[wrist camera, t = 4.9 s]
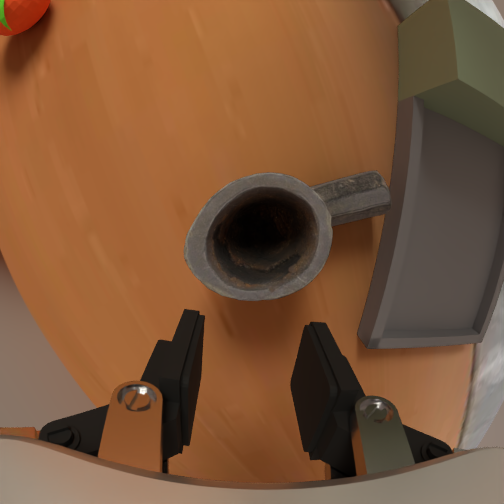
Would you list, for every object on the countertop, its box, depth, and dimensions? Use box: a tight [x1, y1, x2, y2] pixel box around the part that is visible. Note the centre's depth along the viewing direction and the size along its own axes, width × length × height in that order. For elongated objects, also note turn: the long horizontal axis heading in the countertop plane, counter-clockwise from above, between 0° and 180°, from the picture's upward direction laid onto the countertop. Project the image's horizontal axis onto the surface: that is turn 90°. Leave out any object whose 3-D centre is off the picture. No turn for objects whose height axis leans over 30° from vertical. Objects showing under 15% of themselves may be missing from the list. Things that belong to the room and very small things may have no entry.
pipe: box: [184, 171, 392, 301], centre depth 17 cm, size 6×13×8 cm, turn 107°
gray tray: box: [357, 0, 504, 349], centre depth 17 cm, size 28×15×8 cm, turn 173°
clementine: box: [0, 0, 50, 36], centre depth 12 cm, size 8×7×7 cm
